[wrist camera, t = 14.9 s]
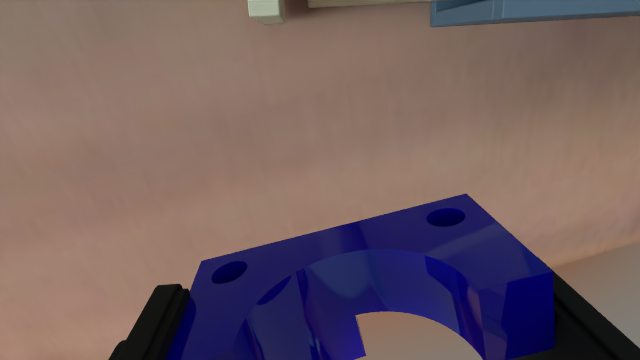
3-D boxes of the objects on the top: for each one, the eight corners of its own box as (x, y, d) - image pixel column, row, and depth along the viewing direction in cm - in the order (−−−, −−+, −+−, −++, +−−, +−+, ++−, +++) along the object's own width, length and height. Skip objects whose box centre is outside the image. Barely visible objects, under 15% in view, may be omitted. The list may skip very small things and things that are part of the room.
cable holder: (238, 350, 13) (217, 481, 9) (201, 261, 12) (159, 369, 8) (477, 290, 13) (556, 397, 9) (466, 193, 11) (552, 271, 8)
